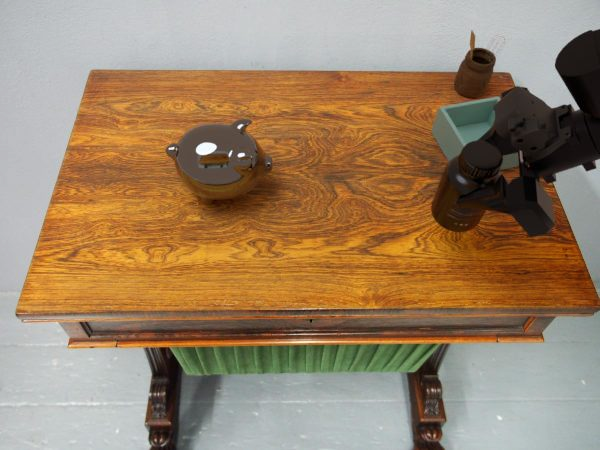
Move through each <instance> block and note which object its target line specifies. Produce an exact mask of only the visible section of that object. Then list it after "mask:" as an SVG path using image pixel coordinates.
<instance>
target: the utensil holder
mask: <svg viewBox="0 0 600 450" xmlns="http://www.w3.org/2000/svg"><path fill="white" fill-rule="evenodd" d="M470 32H471V33H470V38H469V47H470V48H469V50H468V51H467V53H466V54H465V56H464V59H463V60H462V61H461V62H460V65H459V67H458V70H457V73H456V75H455V78H454V80H453V87H454V89H455V91H456V92H457V93H458V94H459V95H461V96H463V97H466V98H470V99H471V98H473V99H474V98H480V97H481V96H482V95H483V94H484V93H485V92H486V90H487V88H488V86H489V85H490V82H491V80H492V77H493V75H494V67H495V66H496V61H497V56H498V55H499V54H500V53H501V51H502V50H503V48H504V46H505V45H506V38H505V36H503V35H501V34H498V35H496V37H495V36H494V37H492V39H491V40H490V41H489V46H492V43H493V42H494V41H495V40H496V39H497V37H498V38H499V37H500V38H499V39H498V40H497V42H496V44H495V45H496V46H494V47H493V49H492V50H490V49H491V48H489V46H487V47H486V48H484V47H476V34H475V32H474V29H471V31H470ZM503 39H504V40H503ZM501 40H502V41H501ZM500 41H501V45H500V46H499V48H498V50H497V51H496V54H494V53H493V52H494V50H495V49H496V48H497V46H498V45H499V43H498V42H500Z"/></svg>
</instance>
